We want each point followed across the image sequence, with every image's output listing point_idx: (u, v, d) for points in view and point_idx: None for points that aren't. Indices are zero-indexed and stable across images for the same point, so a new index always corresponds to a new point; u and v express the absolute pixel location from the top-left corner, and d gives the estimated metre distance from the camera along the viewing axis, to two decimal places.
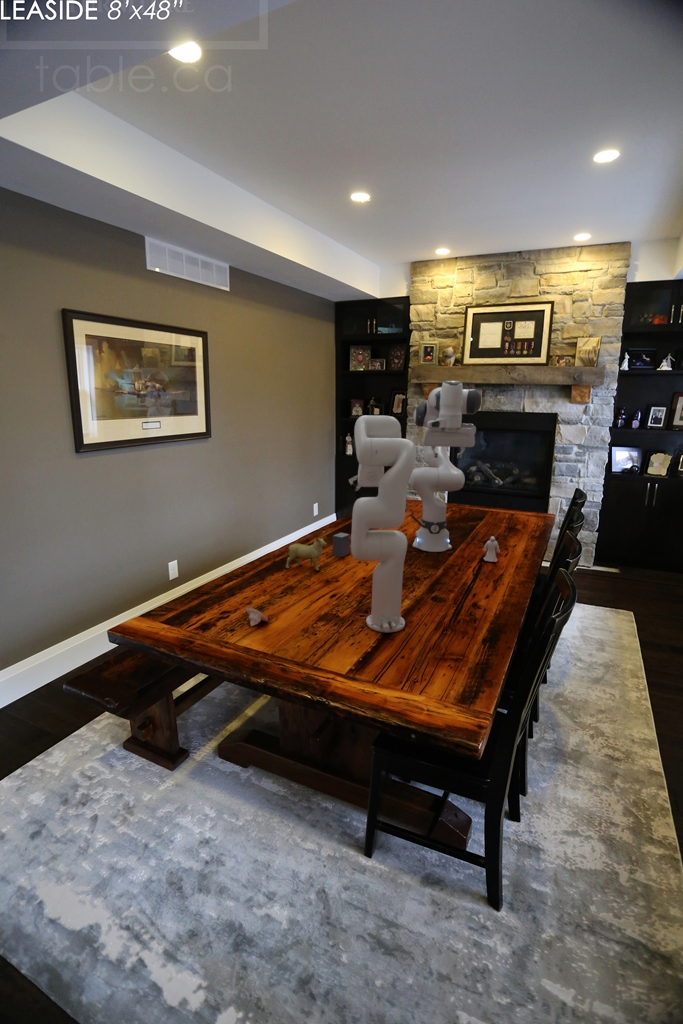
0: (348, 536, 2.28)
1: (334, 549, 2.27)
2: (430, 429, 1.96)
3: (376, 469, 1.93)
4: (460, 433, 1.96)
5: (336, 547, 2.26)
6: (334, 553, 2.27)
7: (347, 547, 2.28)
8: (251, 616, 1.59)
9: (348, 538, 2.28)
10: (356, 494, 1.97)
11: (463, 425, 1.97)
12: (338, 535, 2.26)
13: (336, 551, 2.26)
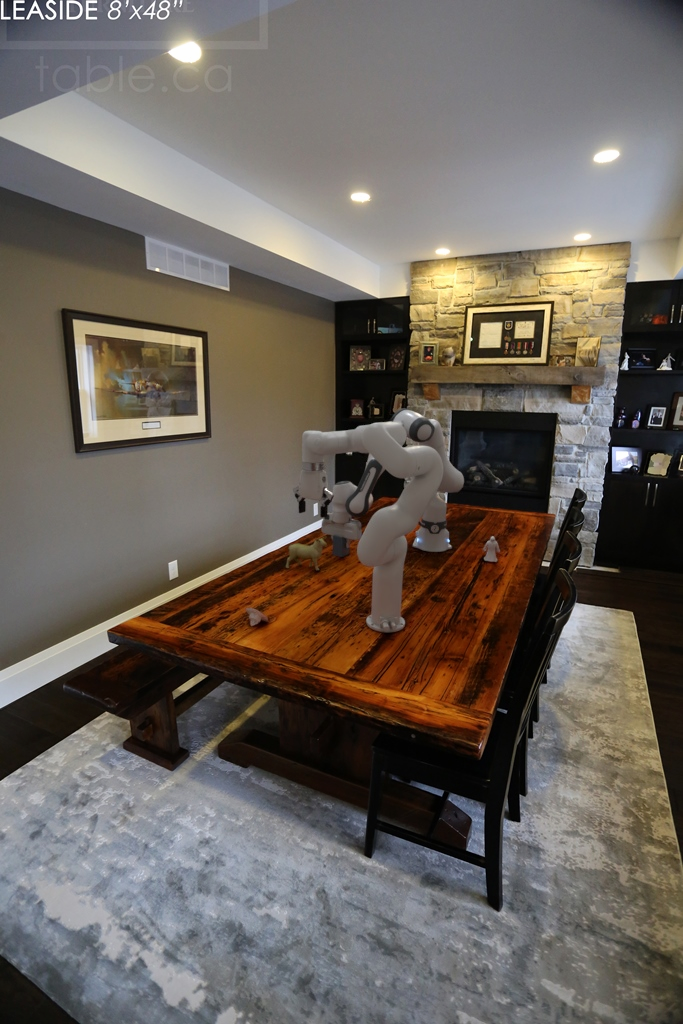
0: None
1: (334, 549, 2.27)
2: (324, 520, 2.28)
3: None
4: (347, 527, 2.22)
5: (336, 547, 2.26)
6: (334, 553, 2.27)
7: None
8: (251, 616, 1.59)
9: None
10: None
11: (350, 520, 2.22)
12: None
13: (336, 551, 2.26)
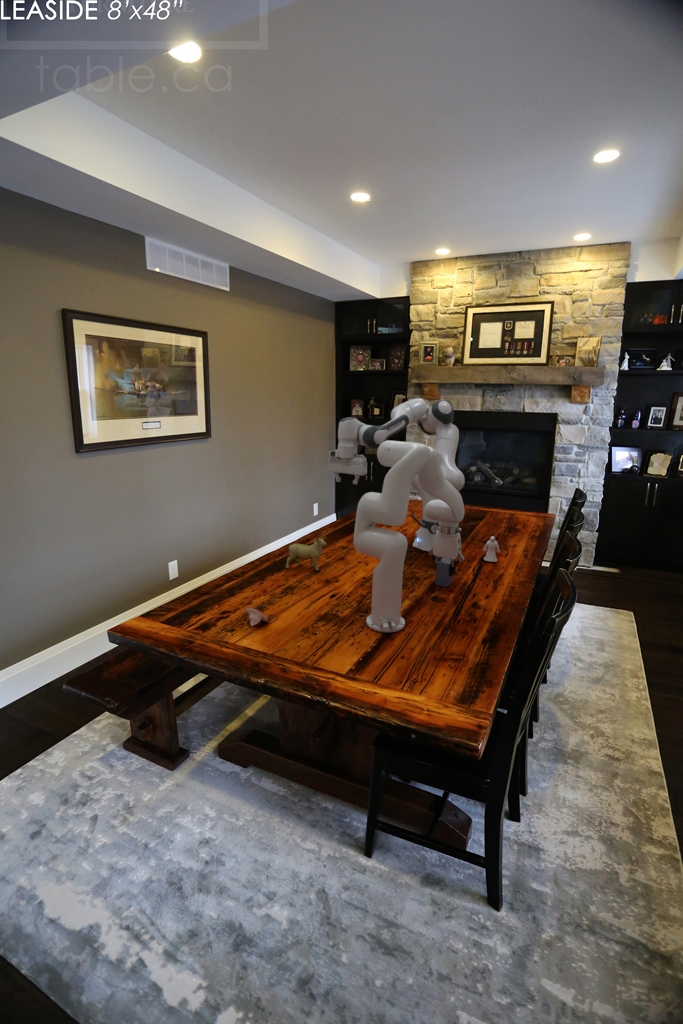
0: None
1: (438, 578, 1.95)
2: (330, 457, 2.32)
3: None
4: (353, 462, 2.27)
5: (440, 575, 1.94)
6: (438, 582, 1.95)
7: None
8: (251, 616, 1.59)
9: None
10: None
11: (356, 456, 2.26)
12: (443, 561, 1.94)
13: (441, 580, 1.95)
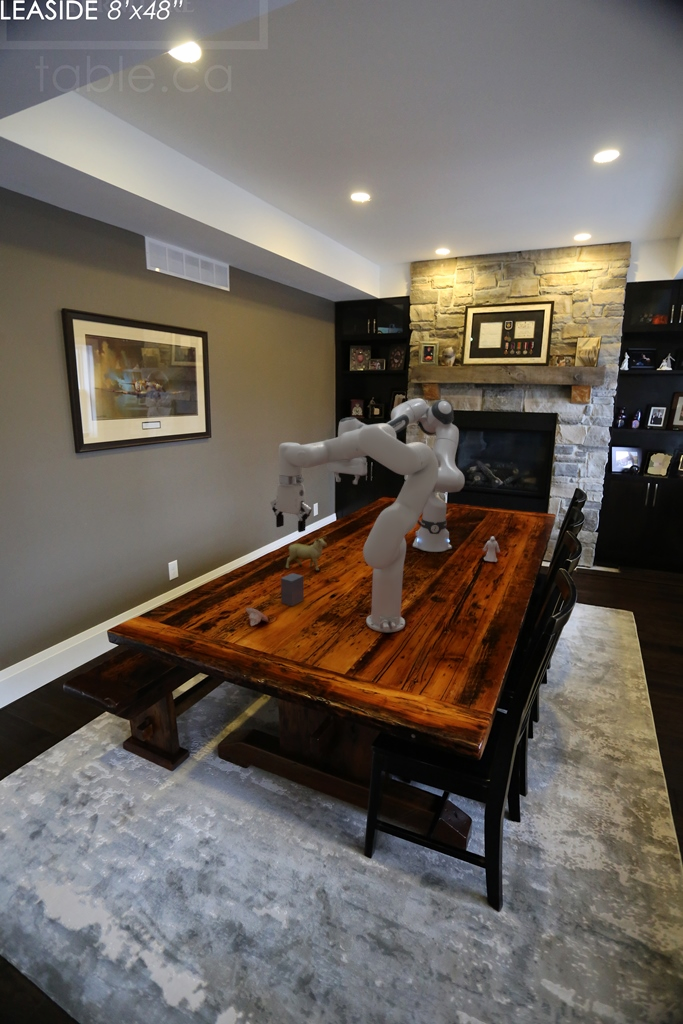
0: (301, 578, 1.76)
1: (283, 595, 1.76)
2: None
3: None
4: (353, 462, 2.27)
5: (285, 593, 1.75)
6: (283, 600, 1.76)
7: (300, 592, 1.77)
8: (251, 616, 1.59)
9: (301, 581, 1.77)
10: None
11: None
12: (288, 578, 1.75)
13: (286, 598, 1.75)
